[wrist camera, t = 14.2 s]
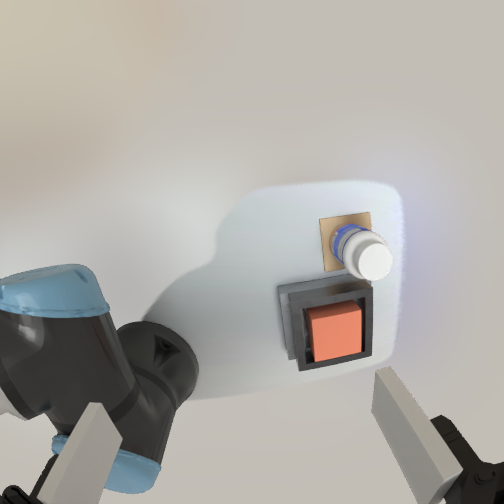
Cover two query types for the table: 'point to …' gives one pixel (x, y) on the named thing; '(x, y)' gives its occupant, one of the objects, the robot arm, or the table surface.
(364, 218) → the coaster
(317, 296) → the grey square tray
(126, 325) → the robot arm
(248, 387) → the table surface
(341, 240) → the pill bottle
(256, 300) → the table surface
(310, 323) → the orange block
